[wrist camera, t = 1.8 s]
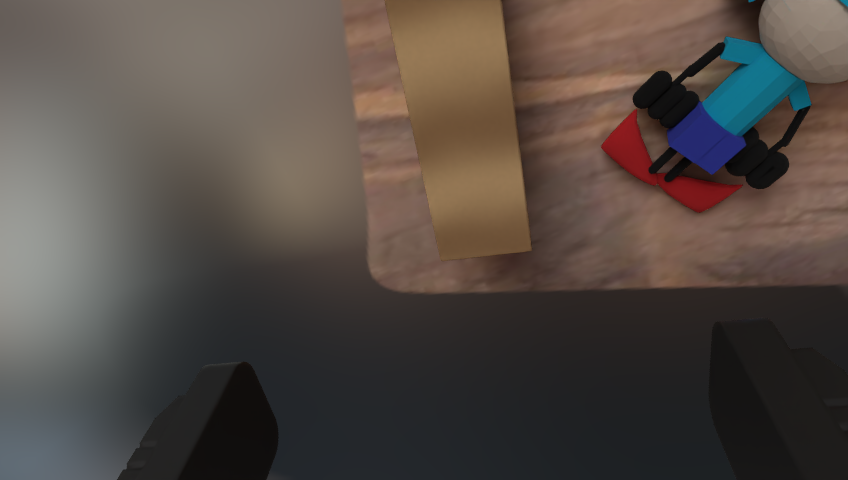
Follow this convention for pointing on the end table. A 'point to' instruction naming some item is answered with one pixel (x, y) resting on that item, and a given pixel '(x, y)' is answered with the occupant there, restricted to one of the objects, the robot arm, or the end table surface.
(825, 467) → the robot arm
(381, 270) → the end table surface
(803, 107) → the toy figure
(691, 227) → the end table surface
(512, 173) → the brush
